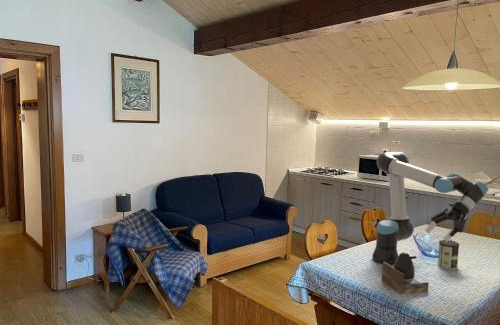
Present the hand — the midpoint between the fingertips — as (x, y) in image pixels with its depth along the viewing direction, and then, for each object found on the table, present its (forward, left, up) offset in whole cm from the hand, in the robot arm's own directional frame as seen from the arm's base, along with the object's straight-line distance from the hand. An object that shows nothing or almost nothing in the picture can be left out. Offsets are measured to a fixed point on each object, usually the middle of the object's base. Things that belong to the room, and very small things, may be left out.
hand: (435, 235), depth 195 cm
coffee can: (+2, +29, -25) cm, 38 cm away
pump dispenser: (-10, -16, -23) cm, 29 cm away
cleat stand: (-10, -15, -24) cm, 30 cm away
